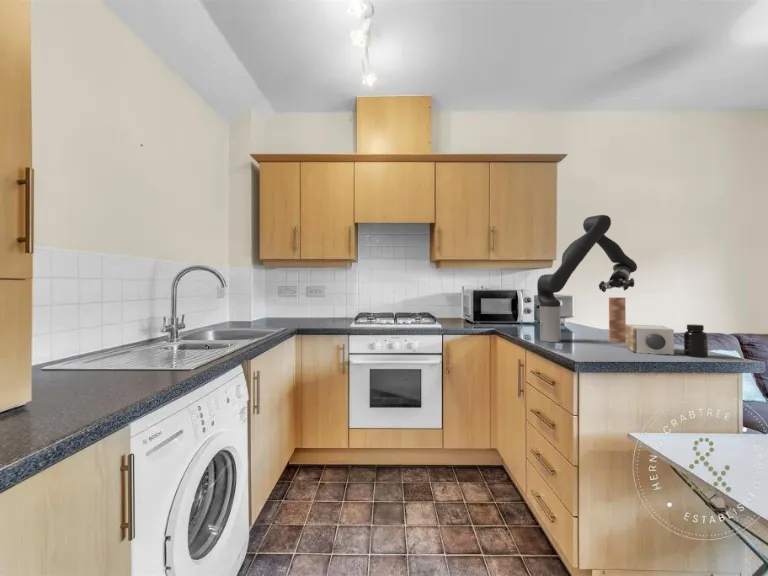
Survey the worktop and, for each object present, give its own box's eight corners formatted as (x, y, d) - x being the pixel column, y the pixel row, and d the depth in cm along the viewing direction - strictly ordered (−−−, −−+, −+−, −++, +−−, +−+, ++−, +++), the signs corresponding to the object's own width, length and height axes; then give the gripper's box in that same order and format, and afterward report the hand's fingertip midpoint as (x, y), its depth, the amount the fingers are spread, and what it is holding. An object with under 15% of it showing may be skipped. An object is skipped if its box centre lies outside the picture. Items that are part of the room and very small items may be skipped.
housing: (637, 353, 137) (637, 328, 137) (628, 347, 152) (628, 324, 151) (675, 355, 132) (675, 330, 132) (662, 348, 147) (661, 325, 146)
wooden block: (615, 350, 142) (615, 298, 142) (609, 345, 154) (608, 297, 154) (635, 351, 139) (635, 298, 139) (627, 346, 152) (627, 297, 152)
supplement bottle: (698, 354, 135) (697, 323, 135) (713, 357, 128) (712, 325, 128) (679, 354, 136) (679, 323, 136) (693, 357, 129) (692, 325, 129)
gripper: (602, 273, 179) (595, 283, 168) (635, 269, 169) (630, 280, 158) (605, 286, 181) (598, 297, 170) (637, 283, 171) (633, 295, 160)
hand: (613, 289), depth 164 cm, fingers open, 8 cm apart
